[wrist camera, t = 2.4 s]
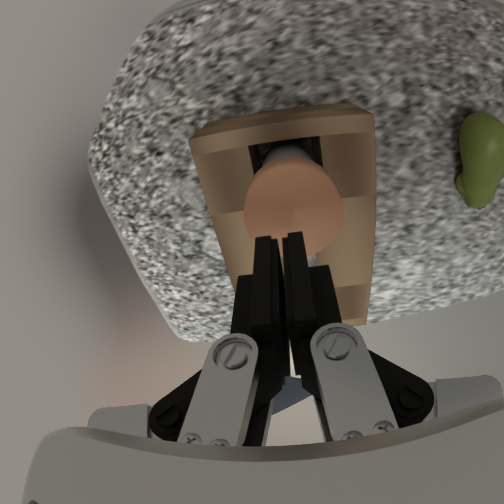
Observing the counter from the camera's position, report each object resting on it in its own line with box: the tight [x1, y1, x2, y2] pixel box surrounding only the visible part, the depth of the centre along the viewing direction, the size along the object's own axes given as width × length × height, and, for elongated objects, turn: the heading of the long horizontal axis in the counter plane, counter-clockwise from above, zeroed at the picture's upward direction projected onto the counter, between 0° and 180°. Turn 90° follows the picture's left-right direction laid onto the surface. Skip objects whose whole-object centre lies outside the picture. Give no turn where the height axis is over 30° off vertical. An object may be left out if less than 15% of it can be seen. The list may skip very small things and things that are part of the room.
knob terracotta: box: [243, 142, 344, 257], centre depth 16 cm, size 5×5×8 cm
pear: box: [456, 112, 504, 210], centre depth 19 cm, size 6×5×10 cm
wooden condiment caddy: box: [188, 103, 376, 326], centre depth 24 cm, size 12×20×6 cm, turn 11°
